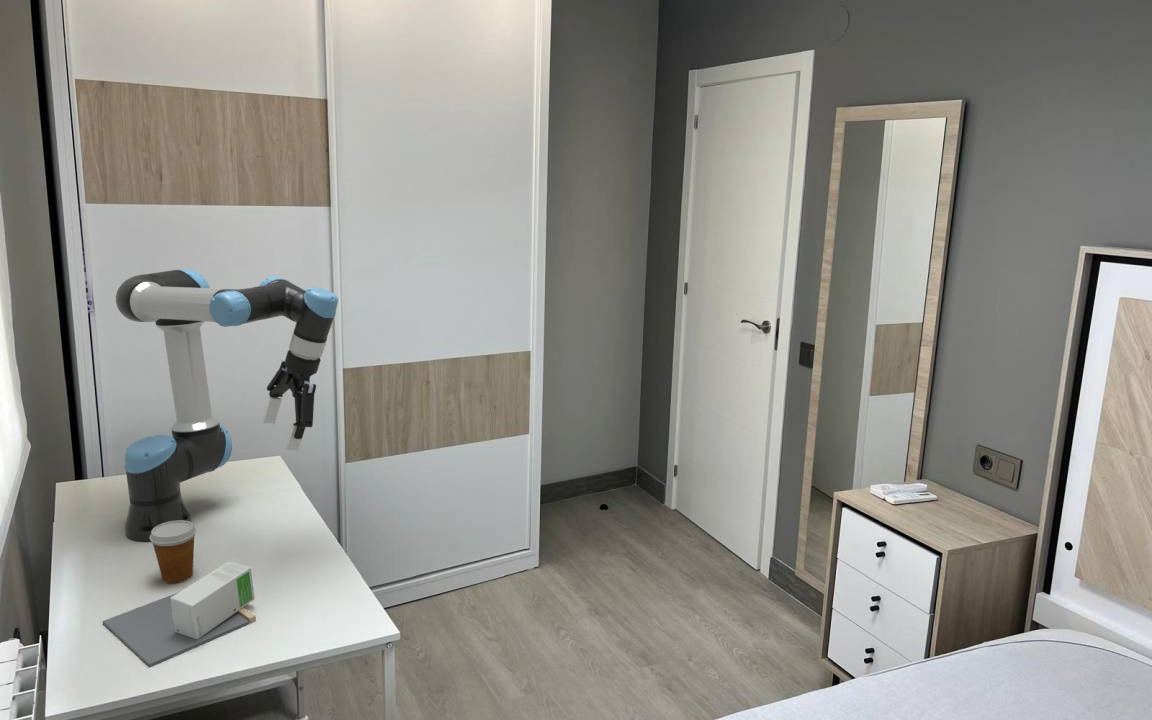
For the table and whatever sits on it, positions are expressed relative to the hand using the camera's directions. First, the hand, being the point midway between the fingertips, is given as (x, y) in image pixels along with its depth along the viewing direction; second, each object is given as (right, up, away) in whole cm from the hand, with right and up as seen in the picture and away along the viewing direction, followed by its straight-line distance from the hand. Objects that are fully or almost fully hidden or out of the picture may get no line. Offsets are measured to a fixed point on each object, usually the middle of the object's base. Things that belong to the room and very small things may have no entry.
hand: (279, 435), depth 197 cm
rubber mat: (-12, -36, -25) cm, 46 cm away
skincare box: (-2, -29, -18) cm, 34 cm away
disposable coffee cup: (-21, -32, -7) cm, 39 cm away
